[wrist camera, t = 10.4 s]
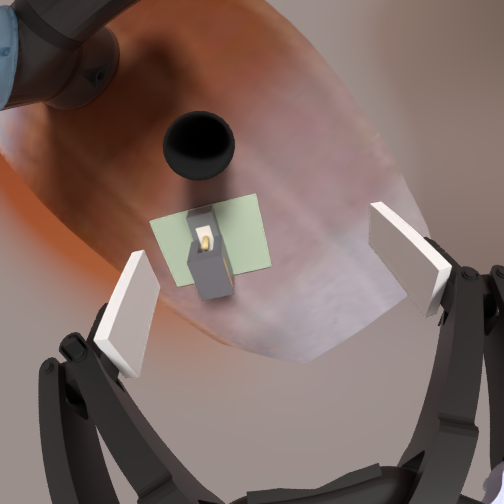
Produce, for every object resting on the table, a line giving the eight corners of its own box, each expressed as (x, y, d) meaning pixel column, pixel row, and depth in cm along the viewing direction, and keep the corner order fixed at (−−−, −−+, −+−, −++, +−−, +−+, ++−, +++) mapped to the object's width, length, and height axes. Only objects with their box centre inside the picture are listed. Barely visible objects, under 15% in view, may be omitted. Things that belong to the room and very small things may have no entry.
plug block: (191, 242, 42) (186, 263, 37) (222, 234, 42) (221, 255, 37) (204, 277, 46) (202, 300, 40) (233, 270, 45) (234, 294, 40)
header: (149, 220, 43) (139, 238, 37) (255, 193, 42) (260, 208, 37) (177, 285, 50) (173, 308, 45) (271, 265, 50) (276, 287, 44)
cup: (210, 168, 40) (203, 194, 29) (170, 139, 36) (149, 154, 26) (243, 130, 37) (249, 141, 27) (203, 99, 34) (193, 96, 24)
